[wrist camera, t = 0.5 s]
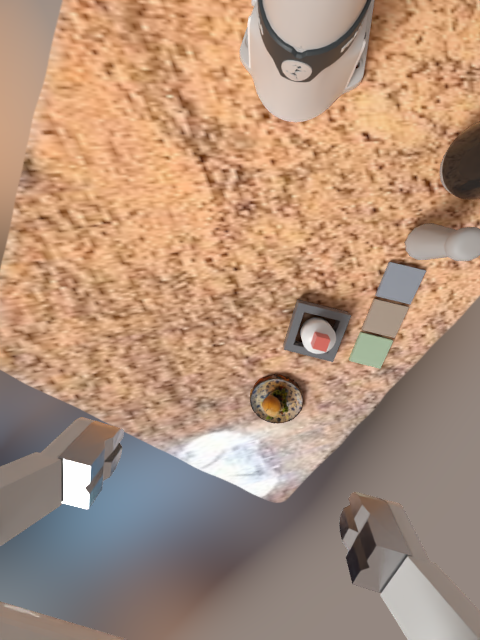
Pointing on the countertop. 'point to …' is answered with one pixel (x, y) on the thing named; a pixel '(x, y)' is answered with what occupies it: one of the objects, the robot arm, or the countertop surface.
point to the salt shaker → (443, 243)
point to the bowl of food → (276, 399)
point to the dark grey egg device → (463, 165)
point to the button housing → (303, 306)
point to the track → (386, 314)
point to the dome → (317, 335)
